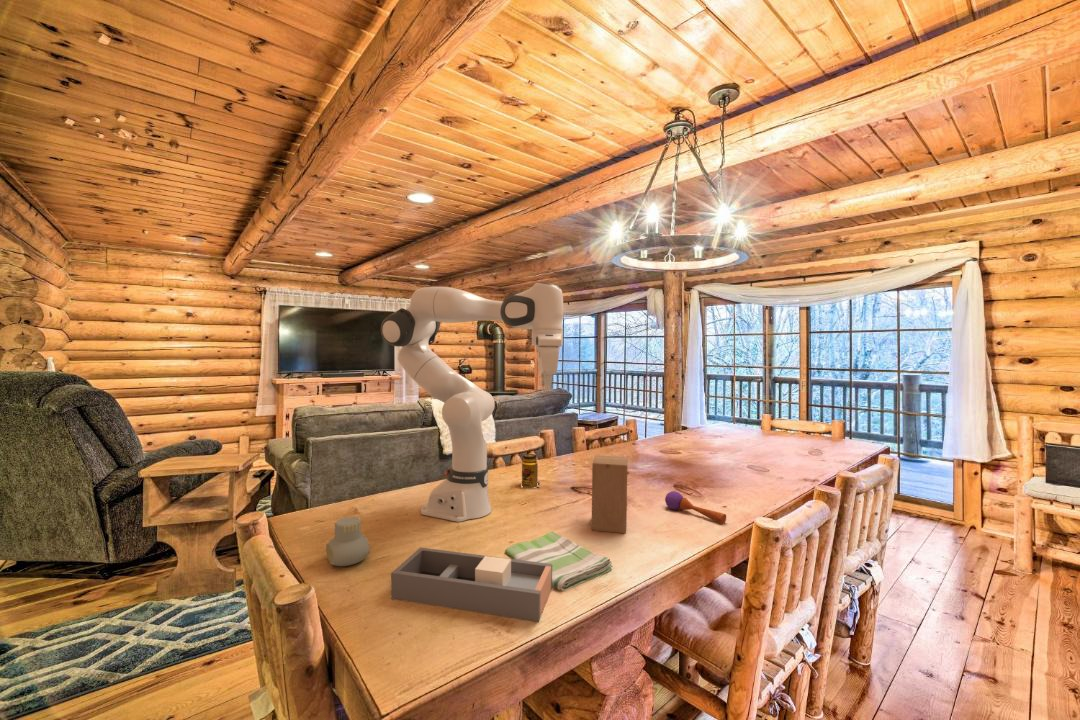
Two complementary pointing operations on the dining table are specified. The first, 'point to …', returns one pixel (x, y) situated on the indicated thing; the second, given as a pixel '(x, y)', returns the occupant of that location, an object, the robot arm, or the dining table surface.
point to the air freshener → (347, 543)
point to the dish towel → (562, 559)
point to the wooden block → (609, 494)
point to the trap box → (472, 584)
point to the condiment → (530, 471)
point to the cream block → (493, 571)
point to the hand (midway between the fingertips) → (546, 388)
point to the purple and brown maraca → (691, 507)
